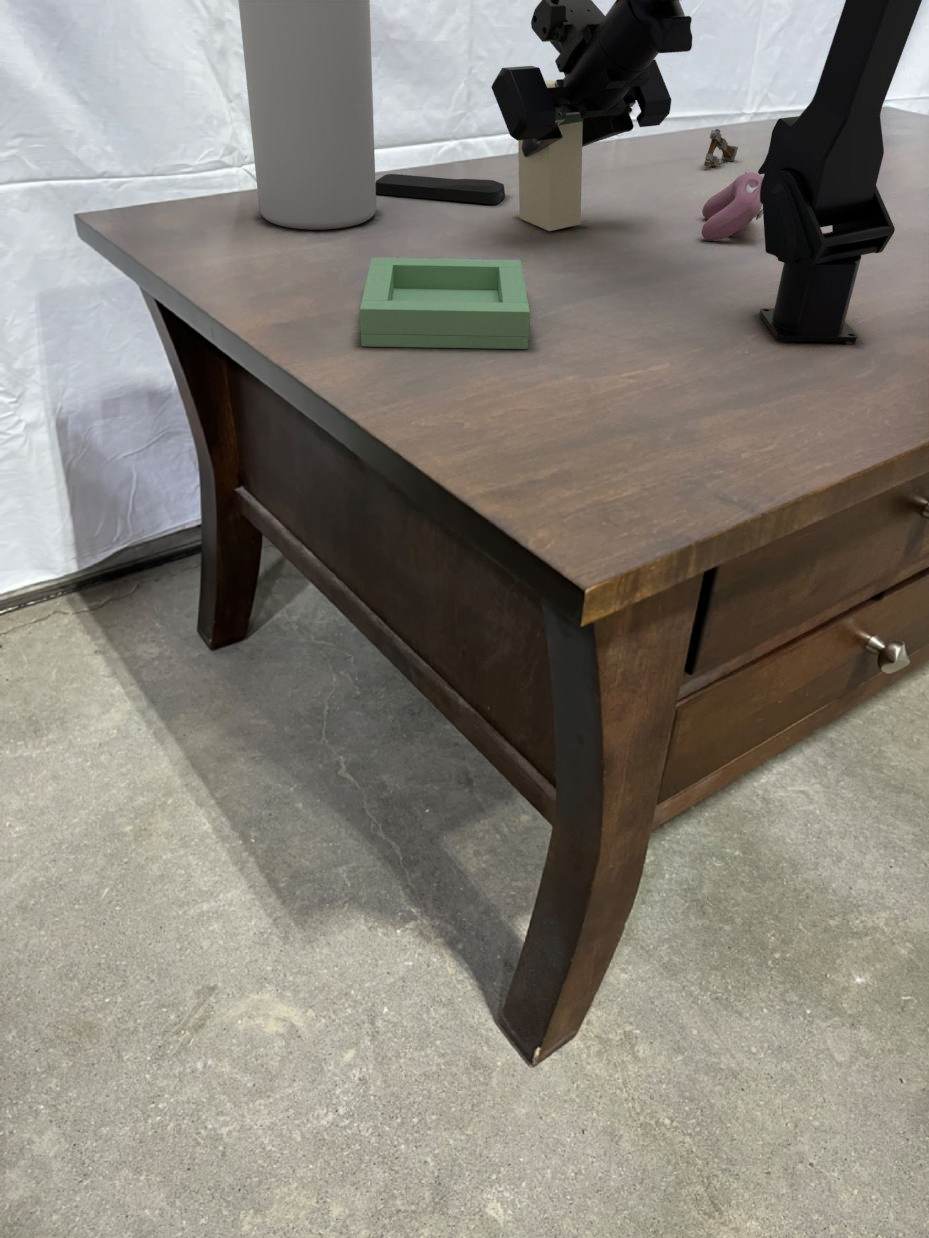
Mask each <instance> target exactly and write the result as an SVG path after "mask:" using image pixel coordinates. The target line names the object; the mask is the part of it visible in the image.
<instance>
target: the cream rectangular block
mask: <svg viewBox="0 0 929 1238" xmlns="http://www.w3.org/2000/svg"><path fill="white" fill-rule="evenodd" d="M544 81H545V83H546V86H547V88H553V87H555V84H554V83H555V81H556V80H551V79H549V80H544ZM583 119H584V118H581V115H580V114H573V115H566V118H565V120H564V121H563V122H561V123H560V124H559V125H558V126H559V129H560V131H561V134H562V138H561V139H560V140H558V141H556V142H554V143H553V144H551V145H549V146H547V147H546V148H544V149H542V150H540V151H539V152H537V153H535V154H533V155H531V156H529V157H524V154H523V152H522V148H521V147H522V142H523V140H519V141H517V144H518V145H517V146H518V195H519V196H518V204H519V205H518V206H519V207H518V210H519V211H518V212H519V219H520V220H522V221H525V222H526V223H529V224H531V225H534V226H536V227H539V228H541V229H543V230H545V231H547V232H552V231H558V230H562V229H565V228H570V227H574V226H579V225H581V223H582V221H581V220H582V182H583V181H582V180H583V179H582V176H583V175H582V173H583V172H582V171H583V147H582V131H583Z"/></svg>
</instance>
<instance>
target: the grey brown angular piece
mask: <svg viewBox="0 0 929 1238" xmlns="http://www.w3.org/2000/svg"><path fill="white" fill-rule="evenodd" d="M709 139H710V140H711V141H710V143H709V147H708V151H707V153H706V154H705V158H704V159H705V160H704V162H703V166H705V167H715V168H718V165H719V163H720V159H719V158H718V156H715V155H714V152H715V150H716V148H717V149H718V150H719V151H721V152H722V154H721V157H720V158H721V160H723V161H729V162H735V159H736V156H737V153H738V150H739V146H735V145H730V144H729V142H728V141H727V139H726V138H725V137H724V138H723V137H722V134H721V130H720V129H719V128H716V129H714V130H713V129H712V130H711V132H710V135H709Z"/></svg>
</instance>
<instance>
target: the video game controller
mask: <svg viewBox="0 0 929 1238" xmlns="http://www.w3.org/2000/svg"><path fill="white" fill-rule="evenodd" d="M763 177H764V176H761V174H759V173H756V172H753V171H752V172H751V171H749V172H748V171H747V170H745V172H743V173H742V174H741V175H738V176H737V177H736V178H735V179H734V181H732V182H731V184H729V185H728V186H725V188H723V189H722V190H721V191H718V192H717V193H716V194H714V195H713V196H711V197H710V198H708V199H707V201H706V202H705V203H704V205H703V207H702V211H701V212H702V216H703V218H705V220H706V221H705V223H703V225H702V228H701V236H702V238H703V239H704V240H705V241H707V242H713V241H720V240H721V241H722V240H724V239H726V238H728V237H730V236H733V237H737V236H738V235H739V234H740V233H741V231H742V230H743V229H744V228H745V227H747V226H748V225H749V224H750V223H751V222H752V221H753V219H755V221H756V220H759V219H761V217H763V208H761V207H763V204H762V203H761V202H760V188H761V183H762V179H763Z"/></svg>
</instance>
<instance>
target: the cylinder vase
mask: <svg viewBox="0 0 929 1238" xmlns="http://www.w3.org/2000/svg"><path fill="white" fill-rule="evenodd" d="M370 2H371V1H370V0H238V9H239V20H240V31H241V40H242V50H243V61H244V69H245V80H246V89H247V91H246V92H247V100H248V109H249V119H250V129H251V131H250V132H251V140H252V150H253V151H252V152H253V159H254V168H255V178H256V190H257V198H258V200H257V201H258V209H259V212H260V215H261V216H262V217H263V219H265V221H268V222H269V223H270V224H273V225H276V226H280V227H283V228H288V229H296V230H306V231H307V230H309V231H312V230H313V231H324V230H335V229H345V228H350V227H354V226H357V225H360V224H363V223H365V222H367V221H369V220H370V219H371V218H372V217H373V216H374V215H375V213H376V211H377V194H376V185H375V184H376V163H375V162H376V159H375V158H376V157H375V156H376V155H375V128H374V127H375V125H374V124H375V123H374V99H373V98H374V97H373V68H372V67H373V66H372V64H373V63H372V38H371V37H372V36H371V10H370V9H371V4H370Z"/></svg>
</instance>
